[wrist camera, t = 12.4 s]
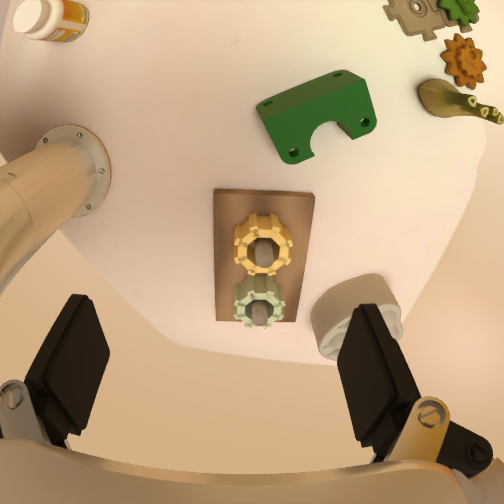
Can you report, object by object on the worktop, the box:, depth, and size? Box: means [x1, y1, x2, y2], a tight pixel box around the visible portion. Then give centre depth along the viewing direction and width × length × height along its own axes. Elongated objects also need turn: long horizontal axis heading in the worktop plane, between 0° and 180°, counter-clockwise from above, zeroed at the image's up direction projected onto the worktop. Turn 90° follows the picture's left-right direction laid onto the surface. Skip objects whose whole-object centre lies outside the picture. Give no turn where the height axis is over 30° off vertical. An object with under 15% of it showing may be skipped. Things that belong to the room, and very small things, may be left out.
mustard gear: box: [234, 212, 293, 276], centre depth 38 cm, size 7×7×4 cm
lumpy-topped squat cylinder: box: [311, 274, 403, 361], centre depth 44 cm, size 10×13×9 cm
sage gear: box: [233, 274, 285, 329], centre depth 42 cm, size 7×7×4 cm
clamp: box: [256, 70, 377, 164], centre depth 30 cm, size 12×6×9 cm, turn 110°
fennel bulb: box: [419, 79, 504, 124], centre depth 26 cm, size 6×5×12 cm
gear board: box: [214, 189, 315, 326], centre depth 40 cm, size 12×20×7 cm, turn 177°
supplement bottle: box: [13, 0, 89, 42], centre depth 20 cm, size 5×5×10 cm
